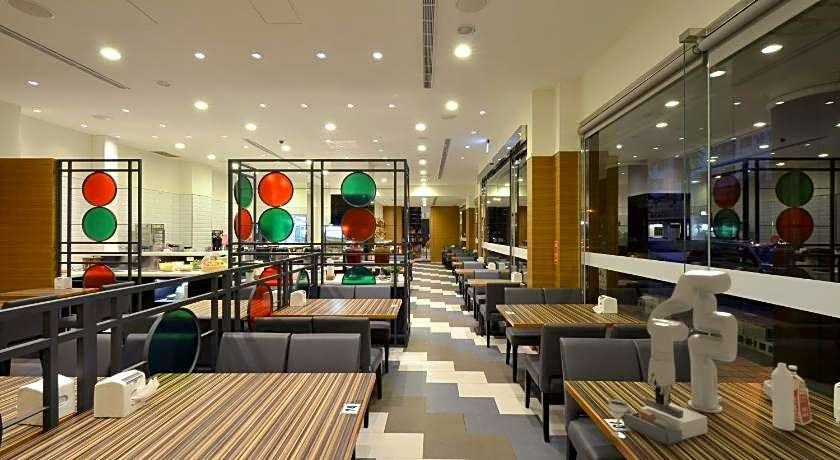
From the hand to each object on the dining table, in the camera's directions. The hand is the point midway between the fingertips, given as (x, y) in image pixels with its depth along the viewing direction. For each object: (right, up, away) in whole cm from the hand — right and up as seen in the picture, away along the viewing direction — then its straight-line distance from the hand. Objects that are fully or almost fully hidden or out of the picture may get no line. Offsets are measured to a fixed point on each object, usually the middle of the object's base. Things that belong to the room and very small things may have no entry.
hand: (662, 402), depth 159 cm
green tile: (-2, -6, -5) cm, 9 cm away
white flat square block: (+5, -11, +2) cm, 12 cm away
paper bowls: (+72, -12, +28) cm, 78 cm away
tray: (-6, -10, -3) cm, 12 cm away
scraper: (0, -3, 0) cm, 3 cm away
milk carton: (+60, -11, +11) cm, 62 cm away
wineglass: (-19, -10, -4) cm, 22 cm away
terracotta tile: (-4, -6, +2) cm, 8 cm away
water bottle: (+49, -11, +1) cm, 50 cm away
